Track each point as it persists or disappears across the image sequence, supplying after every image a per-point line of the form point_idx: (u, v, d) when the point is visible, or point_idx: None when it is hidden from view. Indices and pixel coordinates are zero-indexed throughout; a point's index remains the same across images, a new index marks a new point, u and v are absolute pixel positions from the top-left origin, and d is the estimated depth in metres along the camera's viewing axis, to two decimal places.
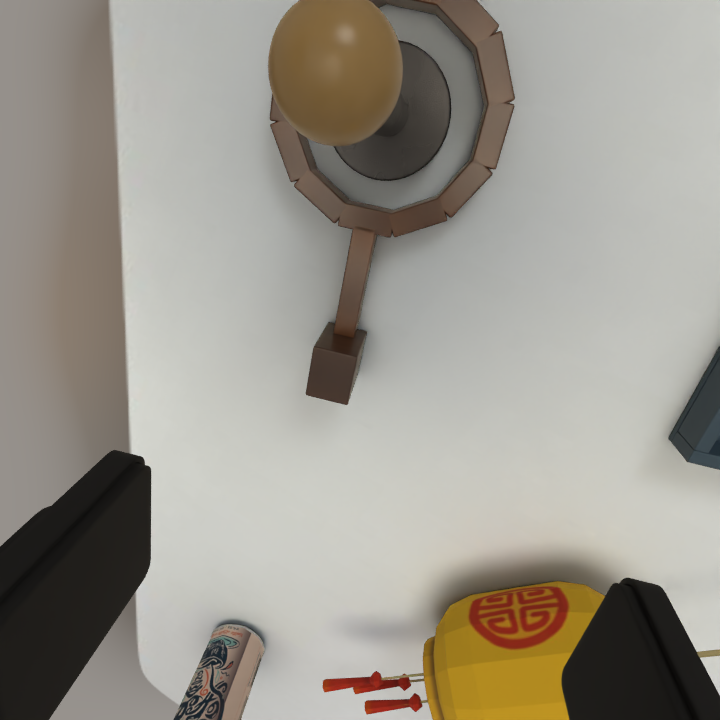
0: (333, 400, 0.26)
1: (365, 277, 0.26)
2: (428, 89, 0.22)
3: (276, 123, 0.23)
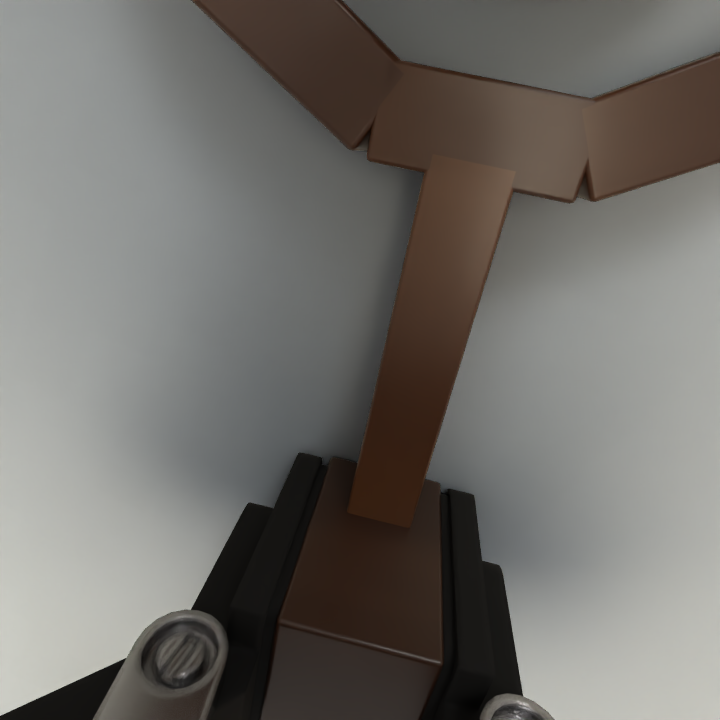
0: None
1: (461, 350, 0.07)
2: None
3: None
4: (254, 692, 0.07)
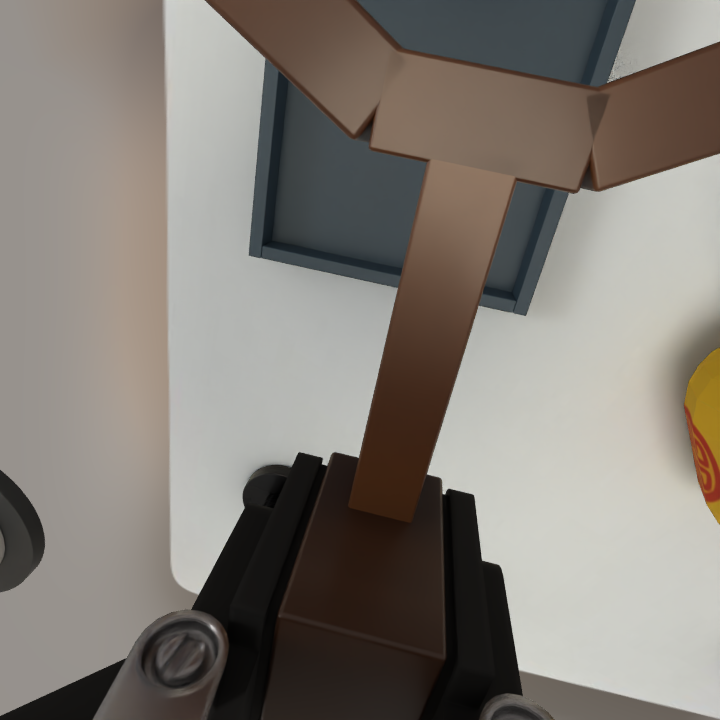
0: None
1: (463, 343, 0.07)
2: (263, 483, 0.39)
3: None
4: (254, 692, 0.07)
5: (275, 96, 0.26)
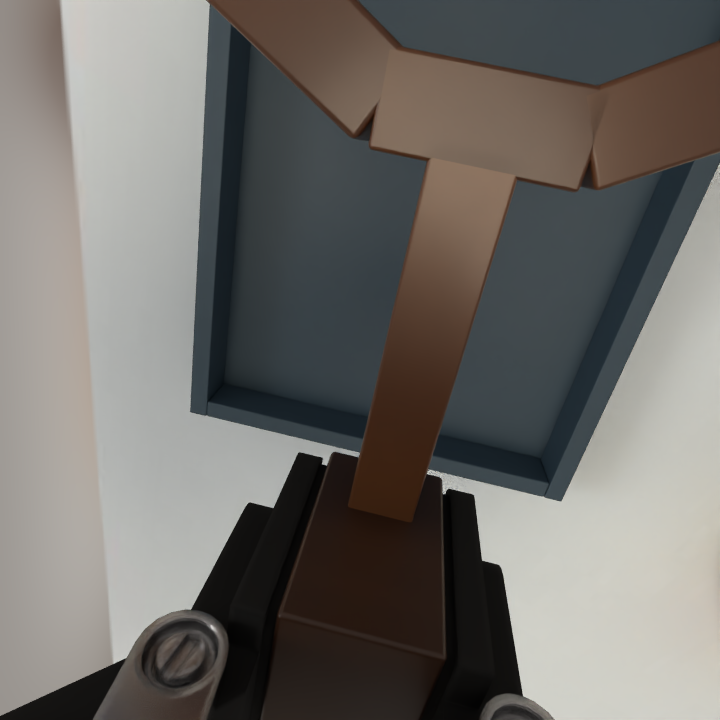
0: None
1: (464, 342, 0.07)
2: None
3: None
4: (254, 692, 0.07)
5: (217, 220, 0.19)
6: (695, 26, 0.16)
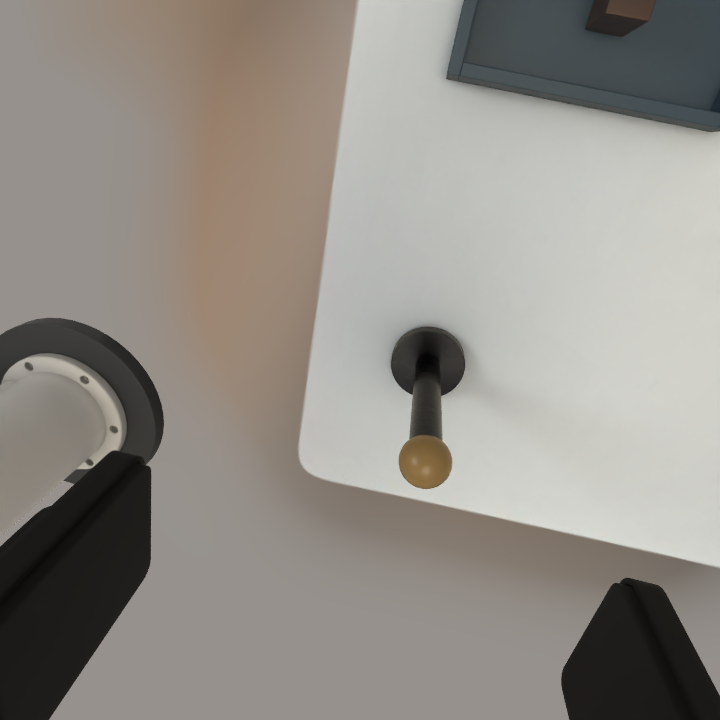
0: (635, 16, 0.26)
1: None
2: (416, 343, 0.39)
3: None
4: None
5: None
6: None
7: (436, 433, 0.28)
